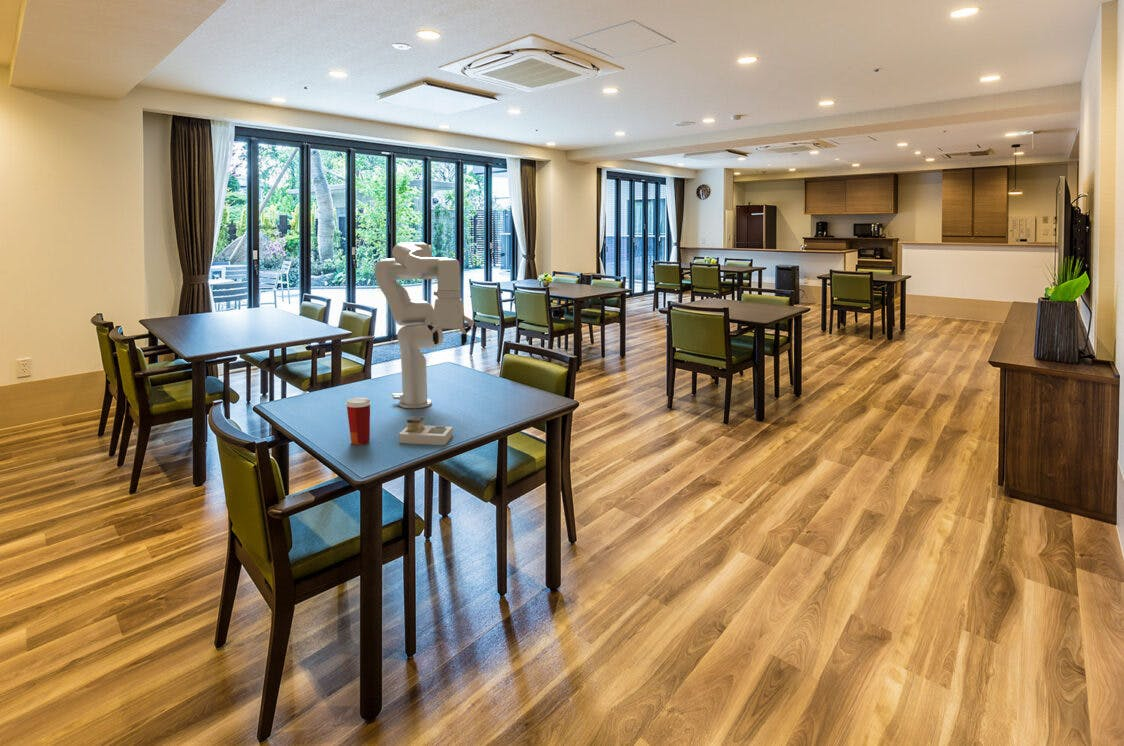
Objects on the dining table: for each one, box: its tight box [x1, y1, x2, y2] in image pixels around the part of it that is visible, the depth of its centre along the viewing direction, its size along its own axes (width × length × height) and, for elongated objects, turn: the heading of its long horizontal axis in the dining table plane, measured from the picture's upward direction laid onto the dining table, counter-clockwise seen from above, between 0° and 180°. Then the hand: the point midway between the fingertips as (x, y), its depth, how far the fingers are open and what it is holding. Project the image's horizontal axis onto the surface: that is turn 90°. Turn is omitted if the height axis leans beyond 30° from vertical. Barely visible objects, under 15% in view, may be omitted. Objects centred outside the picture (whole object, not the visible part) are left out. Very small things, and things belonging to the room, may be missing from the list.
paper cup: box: [344, 397, 372, 446], centre depth 197 cm, size 8×8×14 cm
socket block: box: [398, 424, 454, 446], centre depth 202 cm, size 15×10×3 cm, turn 85°
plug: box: [406, 415, 424, 433], centre depth 202 cm, size 4×4×7 cm
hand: (449, 344), depth 215 cm, fingers open, 9 cm apart
